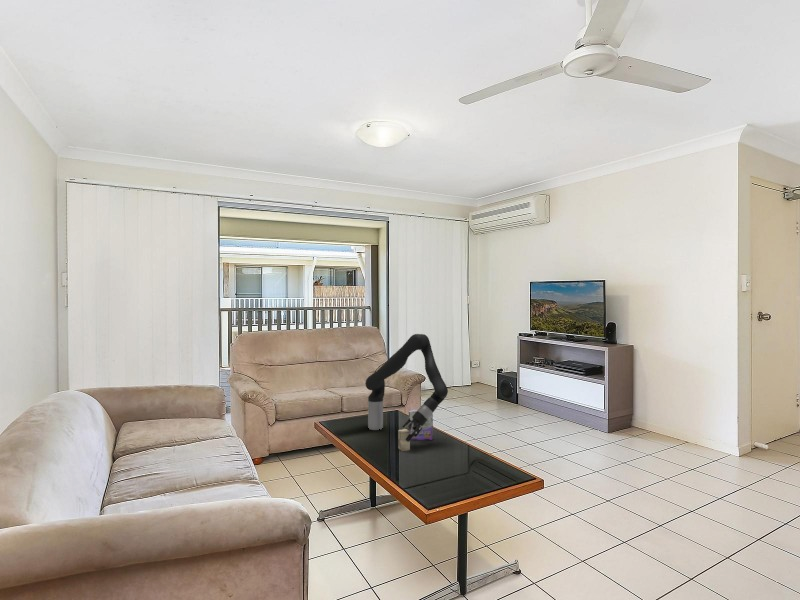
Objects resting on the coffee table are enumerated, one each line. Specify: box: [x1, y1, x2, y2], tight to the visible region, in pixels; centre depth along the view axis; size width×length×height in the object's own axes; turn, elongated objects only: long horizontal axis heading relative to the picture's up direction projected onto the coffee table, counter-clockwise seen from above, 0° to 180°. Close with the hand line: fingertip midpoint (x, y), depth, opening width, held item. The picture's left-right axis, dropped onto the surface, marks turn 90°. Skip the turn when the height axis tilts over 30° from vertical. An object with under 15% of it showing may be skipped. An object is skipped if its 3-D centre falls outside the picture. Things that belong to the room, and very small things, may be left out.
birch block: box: [397, 428, 411, 452], centre depth 239 cm, size 5×5×10 cm
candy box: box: [408, 408, 434, 441], centre depth 258 cm, size 14×6×16 cm, turn 84°
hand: (403, 438), depth 239 cm, fingers open, 8 cm apart
